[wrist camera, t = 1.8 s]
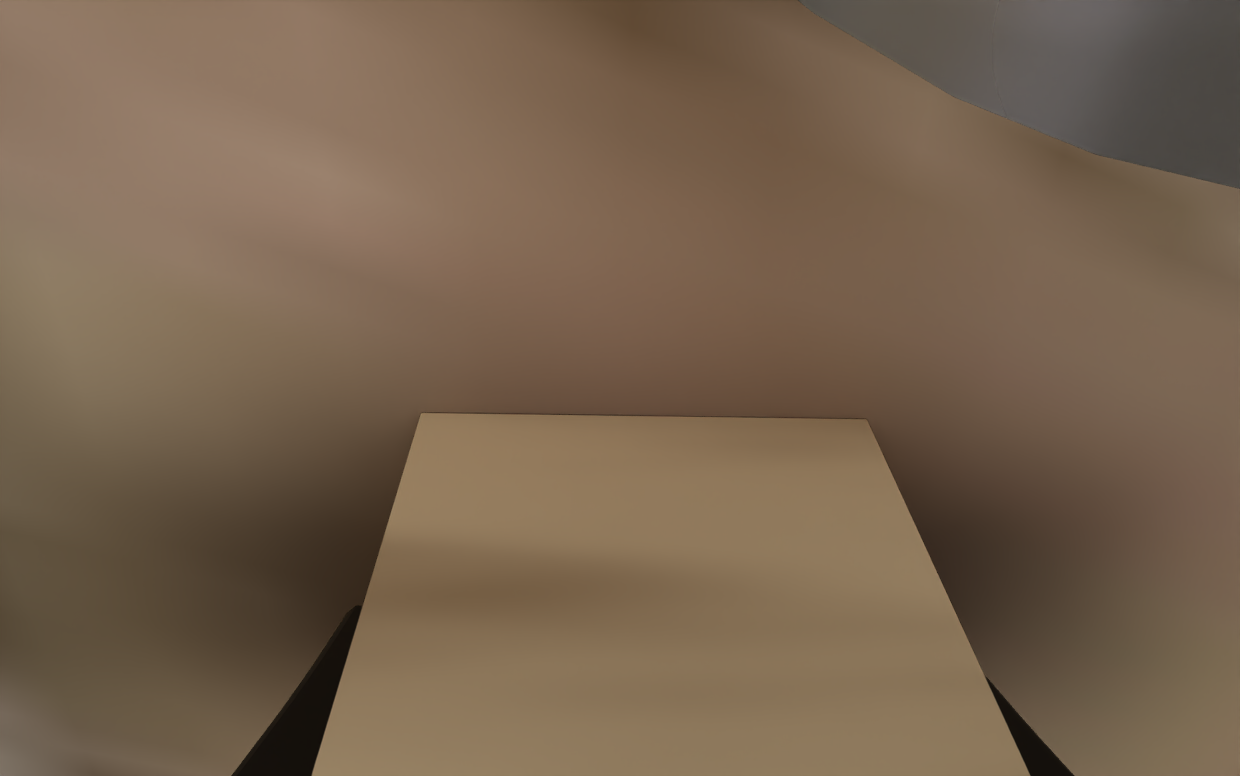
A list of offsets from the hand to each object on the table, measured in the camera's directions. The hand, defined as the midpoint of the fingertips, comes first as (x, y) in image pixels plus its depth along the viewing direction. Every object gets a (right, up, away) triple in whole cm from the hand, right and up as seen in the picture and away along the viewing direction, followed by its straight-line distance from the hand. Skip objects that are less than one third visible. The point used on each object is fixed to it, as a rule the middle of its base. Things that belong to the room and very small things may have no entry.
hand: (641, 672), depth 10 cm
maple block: (0, +1, +1) cm, 1 cm away
